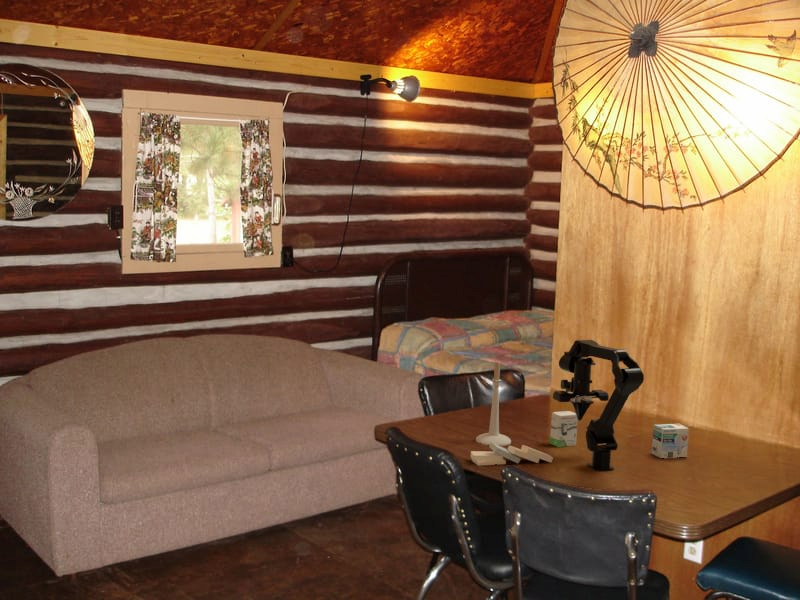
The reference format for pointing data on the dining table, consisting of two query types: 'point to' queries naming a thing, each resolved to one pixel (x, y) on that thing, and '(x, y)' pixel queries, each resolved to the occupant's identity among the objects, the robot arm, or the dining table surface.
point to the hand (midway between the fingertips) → (579, 420)
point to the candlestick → (494, 416)
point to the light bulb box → (670, 440)
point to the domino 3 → (504, 452)
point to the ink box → (563, 428)
